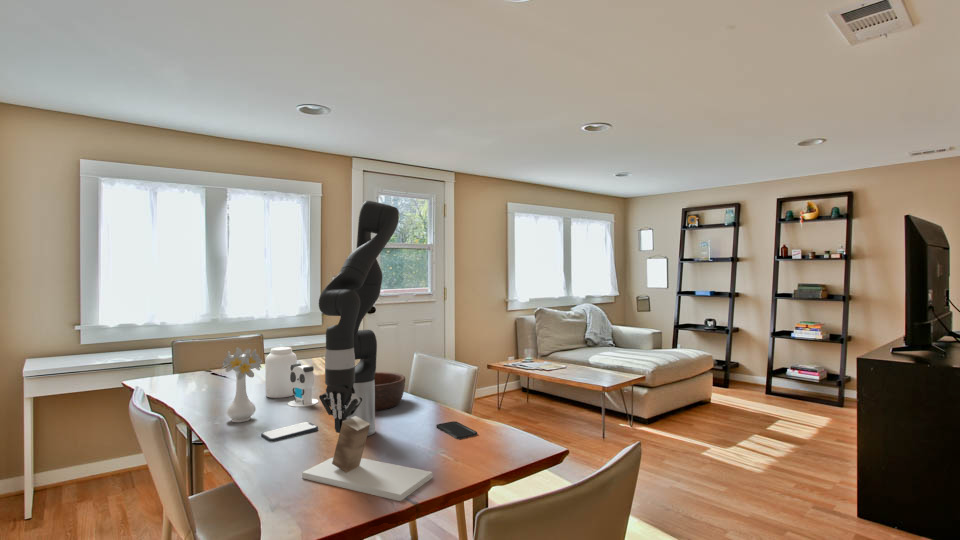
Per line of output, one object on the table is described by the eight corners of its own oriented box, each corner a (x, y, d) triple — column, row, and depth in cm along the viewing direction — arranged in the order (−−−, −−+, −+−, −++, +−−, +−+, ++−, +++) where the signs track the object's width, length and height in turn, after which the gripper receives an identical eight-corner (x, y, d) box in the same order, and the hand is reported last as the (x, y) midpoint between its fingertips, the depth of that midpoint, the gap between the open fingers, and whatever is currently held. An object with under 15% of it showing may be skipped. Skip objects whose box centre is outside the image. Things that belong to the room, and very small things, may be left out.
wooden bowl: (345, 417, 180) (345, 388, 180) (336, 400, 203) (336, 375, 203) (413, 408, 190) (412, 381, 190) (396, 393, 213) (396, 369, 213)
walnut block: (331, 463, 129) (342, 421, 127) (345, 457, 133) (355, 415, 131) (346, 472, 127) (357, 429, 125) (359, 465, 131) (370, 423, 129)
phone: (455, 420, 172) (478, 432, 159) (455, 424, 172) (478, 436, 159) (434, 424, 168) (457, 437, 155) (434, 428, 168) (457, 440, 155)
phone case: (271, 444, 154) (319, 431, 165) (270, 439, 154) (319, 426, 165) (259, 437, 160) (307, 425, 171) (259, 432, 160) (307, 420, 171)
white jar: (302, 394, 212) (302, 347, 212) (273, 400, 203) (273, 351, 203) (289, 389, 221) (288, 344, 221) (260, 395, 212) (260, 347, 212)
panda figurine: (281, 403, 199) (281, 365, 199) (307, 397, 207) (307, 361, 207) (297, 408, 191) (297, 369, 191) (323, 402, 199) (323, 364, 199)
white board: (302, 478, 127) (302, 472, 127) (339, 459, 140) (339, 453, 140) (400, 501, 114) (400, 494, 114) (432, 477, 127) (432, 472, 127)
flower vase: (232, 430, 165) (232, 354, 165) (214, 418, 178) (214, 348, 178) (272, 421, 174) (271, 350, 174) (252, 411, 188) (251, 344, 188)
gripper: (369, 365, 131) (370, 431, 131) (330, 361, 137) (331, 424, 137) (350, 370, 124) (350, 440, 124) (310, 366, 130) (310, 433, 130)
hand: (340, 432), depth 130 cm, fingers closed
